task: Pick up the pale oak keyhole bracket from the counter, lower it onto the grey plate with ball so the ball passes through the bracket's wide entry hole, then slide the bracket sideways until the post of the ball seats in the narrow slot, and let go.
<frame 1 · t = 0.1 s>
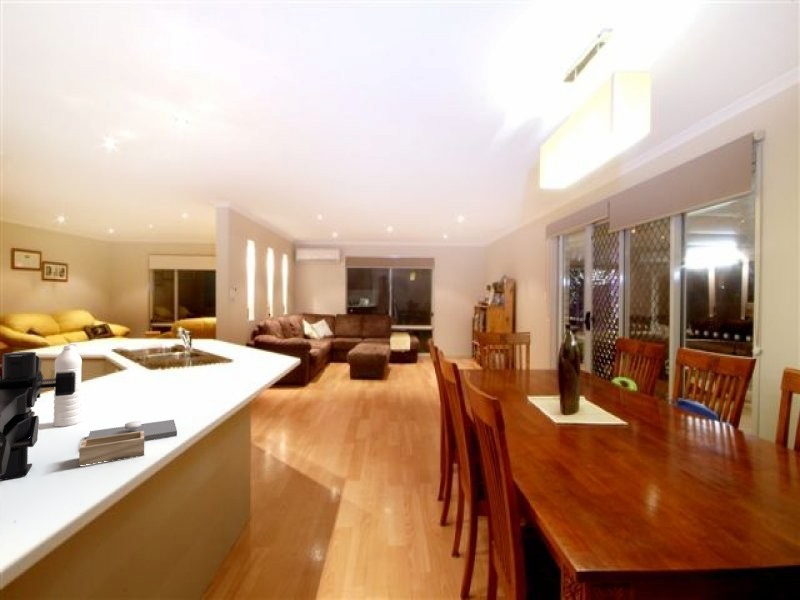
hand: (36, 380, 108), 17 cm above the table, tool horizontal, fingers open, 9 cm apart
grey plate with ball: (133, 436, 112), on the table
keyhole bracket: (113, 456, 98), on the table
water bottle: (69, 423, 122), on the table
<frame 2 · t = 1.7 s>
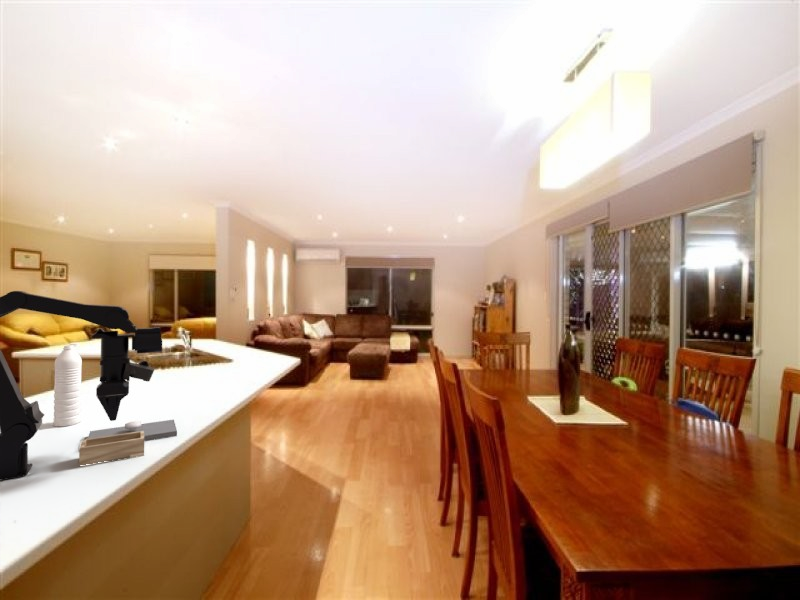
hand: (114, 415, 98), 11 cm above the table, tool pointing down, fingers open, 9 cm apart
nothing on the table moved.
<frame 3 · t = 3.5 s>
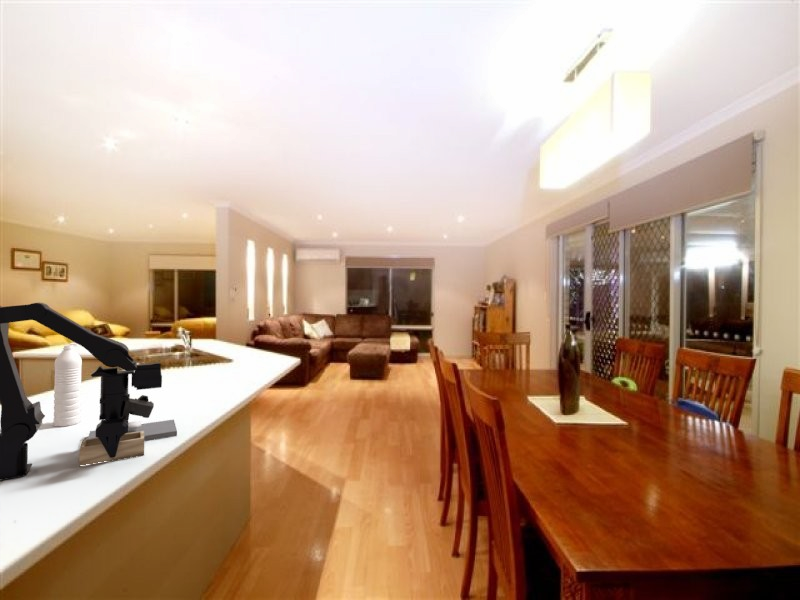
hand: (113, 452, 98), 1 cm above the table, tool pointing down, fingers closed on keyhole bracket, 6 cm apart
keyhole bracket: (113, 456, 98), on the table, touching gripper
everything else where it was.
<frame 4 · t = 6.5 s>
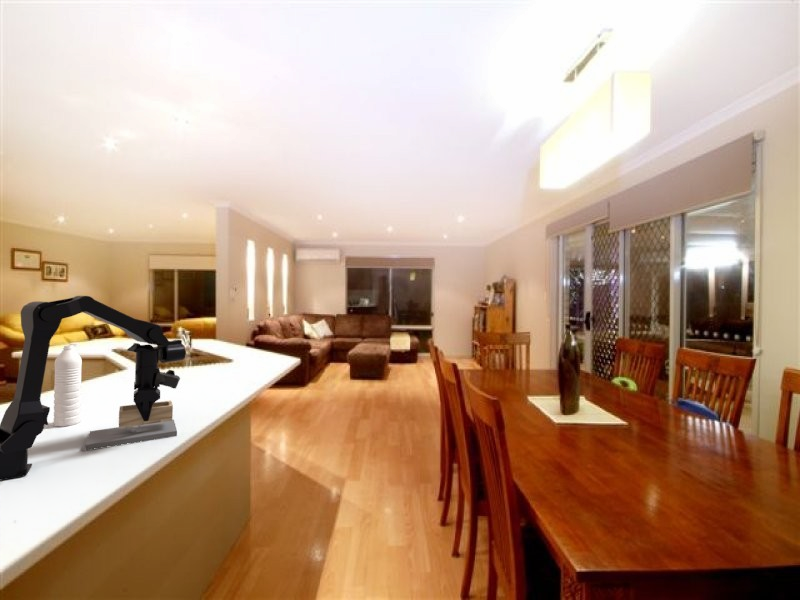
hand: (145, 417, 114), 5 cm above the table, tool pointing down, fingers closed on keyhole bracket, 6 cm apart
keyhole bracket: (146, 421, 114), point 4 cm above the table, touching gripper
everything else where it was.
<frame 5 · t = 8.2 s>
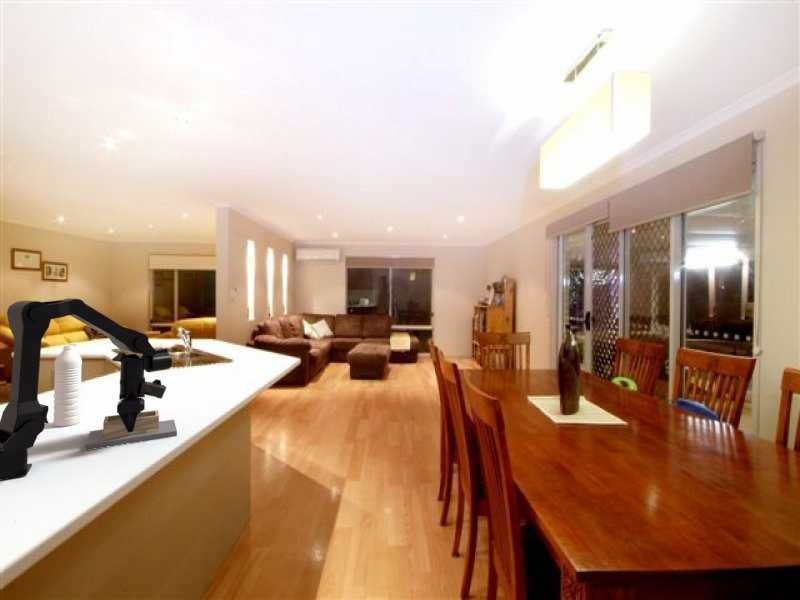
hand: (130, 428, 112), 2 cm above the table, tool pointing down, fingers closed on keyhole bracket, 6 cm apart
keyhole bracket: (132, 431, 112), point 2 cm above the table, touching gripper
everything else where it was.
when the fingers open (3 cm above the table, at t = 9.8 s): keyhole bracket stays where it is, resting on grey plate with ball.
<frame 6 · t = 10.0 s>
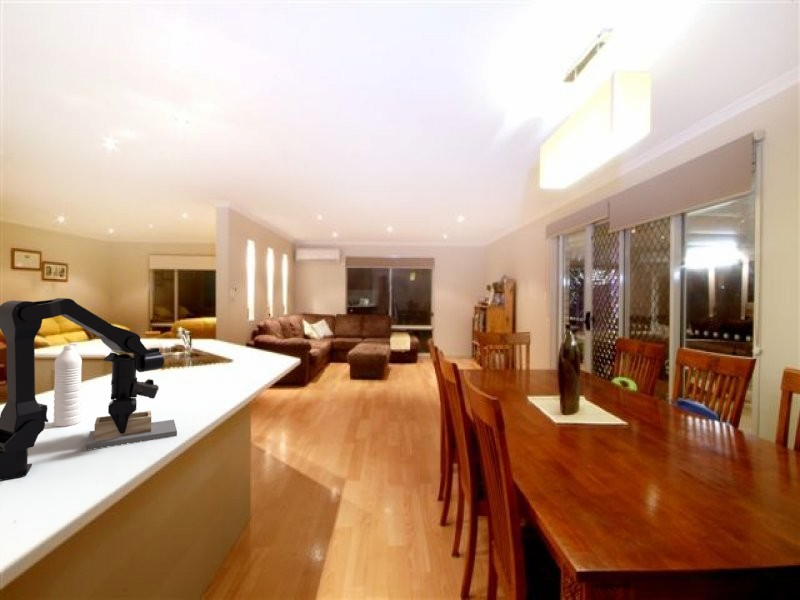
hand: (123, 428, 111), 3 cm above the table, tool pointing down, fingers open, 8 cm apart
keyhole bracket: (124, 432, 111), point 1 cm above the table, touching grey plate with ball
everything else where it was.
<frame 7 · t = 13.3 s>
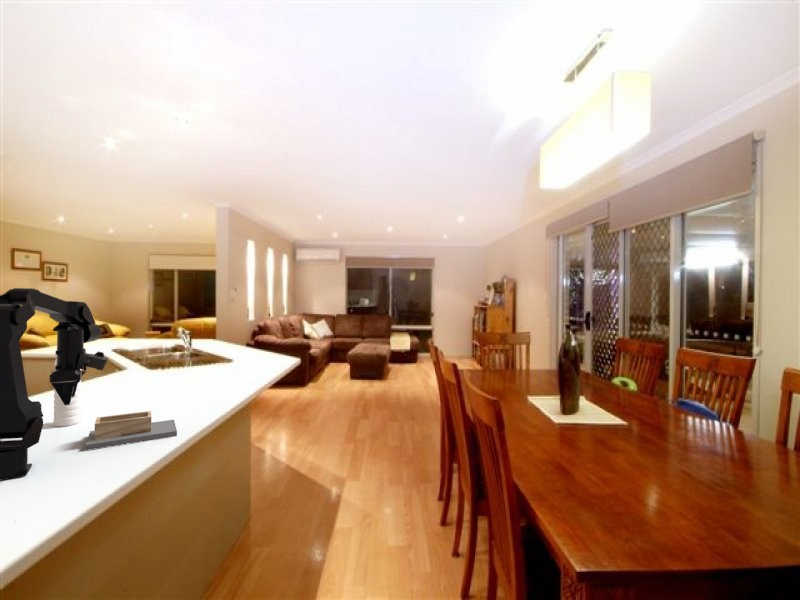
hand: (69, 400, 109), 11 cm above the table, tool pointing down, fingers open, 9 cm apart
nothing on the table moved.
at the end: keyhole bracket 0.4 cm from the target spot on the grey plate with ball, point 1.5 cm above the grey plate with ball's base; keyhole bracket tilted 0°; the gripper is holding nothing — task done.
